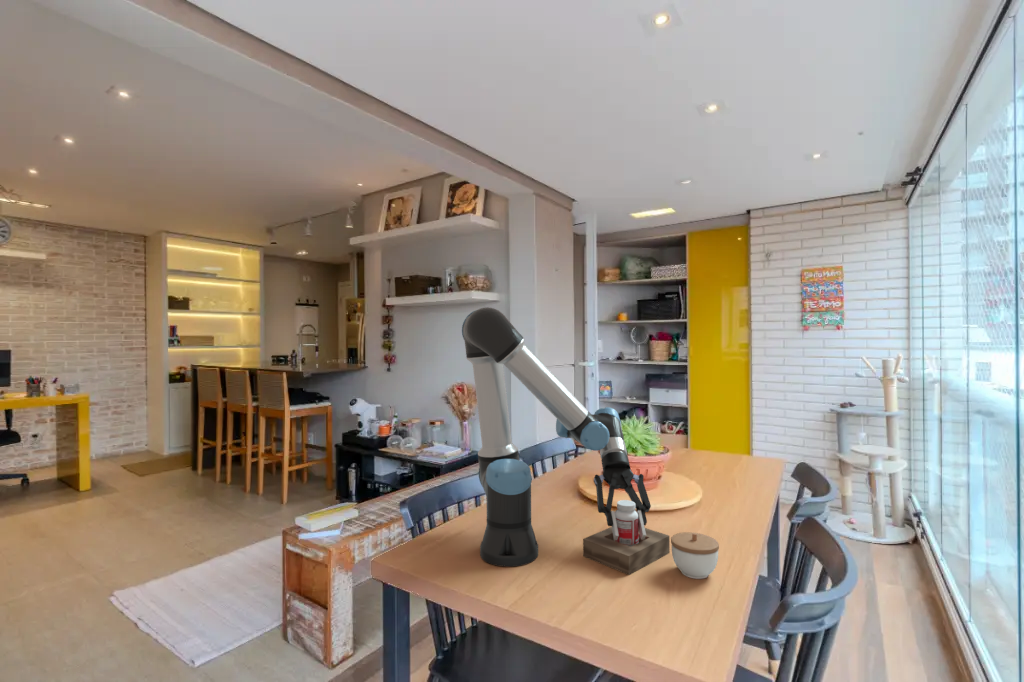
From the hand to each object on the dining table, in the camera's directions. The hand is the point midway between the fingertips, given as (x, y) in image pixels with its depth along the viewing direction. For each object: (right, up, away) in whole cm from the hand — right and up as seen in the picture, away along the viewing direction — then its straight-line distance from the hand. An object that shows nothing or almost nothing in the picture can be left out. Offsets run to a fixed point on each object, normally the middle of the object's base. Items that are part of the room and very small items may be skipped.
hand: (630, 537), depth 127 cm
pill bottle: (0, -4, +4) cm, 5 cm away
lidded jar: (+14, -6, -7) cm, 16 cm away
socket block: (0, -6, +4) cm, 7 cm away
